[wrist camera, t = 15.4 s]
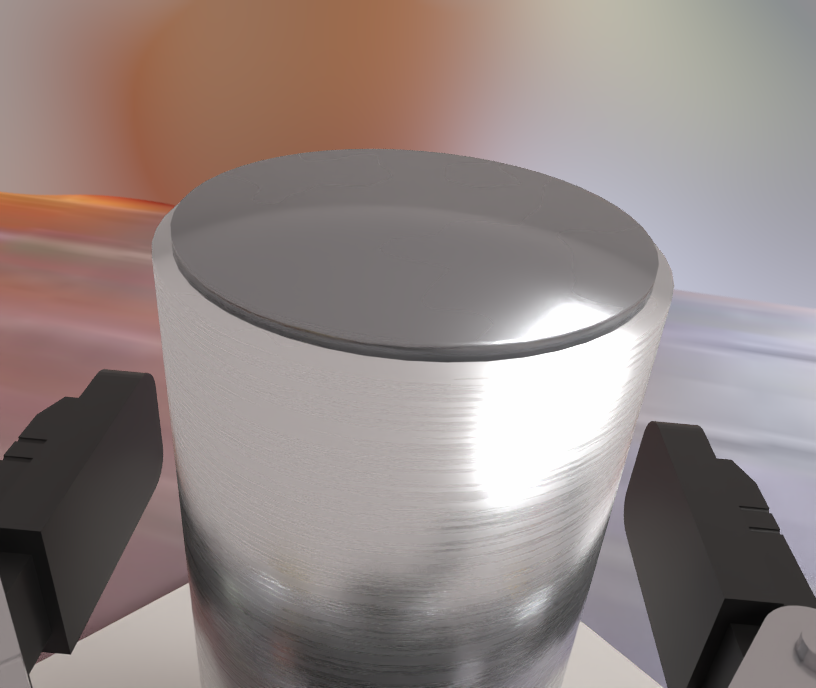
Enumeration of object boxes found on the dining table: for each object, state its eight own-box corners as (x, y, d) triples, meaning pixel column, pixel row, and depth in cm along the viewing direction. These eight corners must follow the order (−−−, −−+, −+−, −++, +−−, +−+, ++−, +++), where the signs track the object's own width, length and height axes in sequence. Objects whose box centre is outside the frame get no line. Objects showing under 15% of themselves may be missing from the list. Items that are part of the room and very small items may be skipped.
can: (382, 638, 18) (424, 125, 12) (571, 828, 15) (775, 249, 8) (164, 795, 15) (58, 190, 8) (345, 1090, 11) (398, 445, 5)
